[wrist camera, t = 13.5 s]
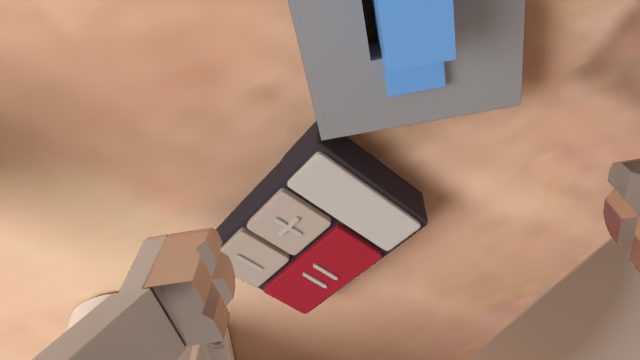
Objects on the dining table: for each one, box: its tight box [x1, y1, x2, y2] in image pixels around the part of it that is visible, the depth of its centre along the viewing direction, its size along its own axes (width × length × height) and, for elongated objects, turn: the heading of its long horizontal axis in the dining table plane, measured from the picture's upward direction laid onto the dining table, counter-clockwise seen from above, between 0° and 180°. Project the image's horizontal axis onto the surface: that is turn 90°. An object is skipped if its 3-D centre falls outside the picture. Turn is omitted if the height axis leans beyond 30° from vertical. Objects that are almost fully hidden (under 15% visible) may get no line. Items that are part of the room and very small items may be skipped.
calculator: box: [216, 121, 428, 314], centre depth 38 cm, size 11×4×15 cm
